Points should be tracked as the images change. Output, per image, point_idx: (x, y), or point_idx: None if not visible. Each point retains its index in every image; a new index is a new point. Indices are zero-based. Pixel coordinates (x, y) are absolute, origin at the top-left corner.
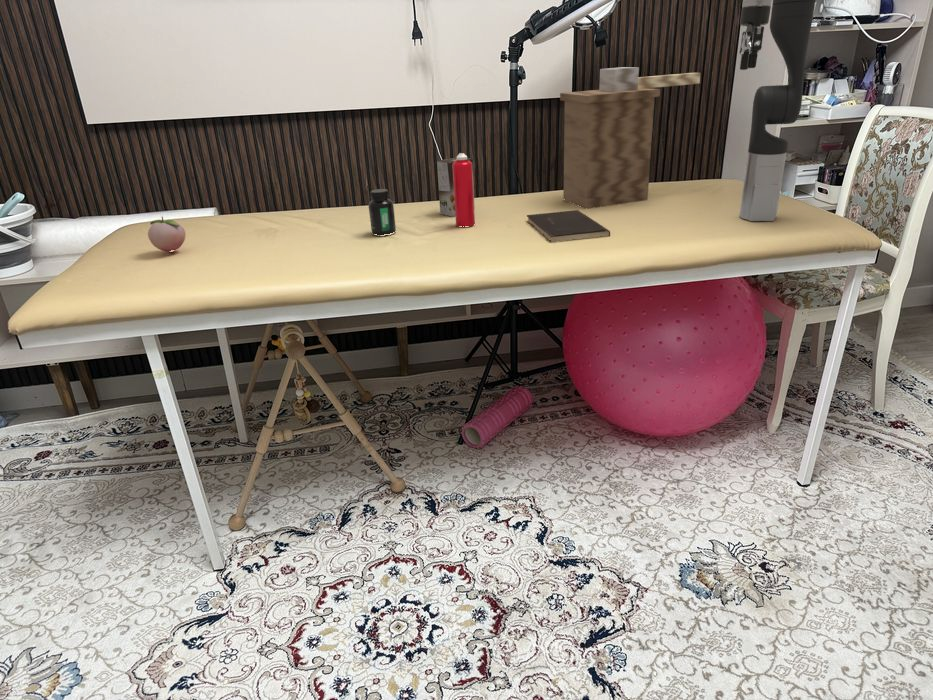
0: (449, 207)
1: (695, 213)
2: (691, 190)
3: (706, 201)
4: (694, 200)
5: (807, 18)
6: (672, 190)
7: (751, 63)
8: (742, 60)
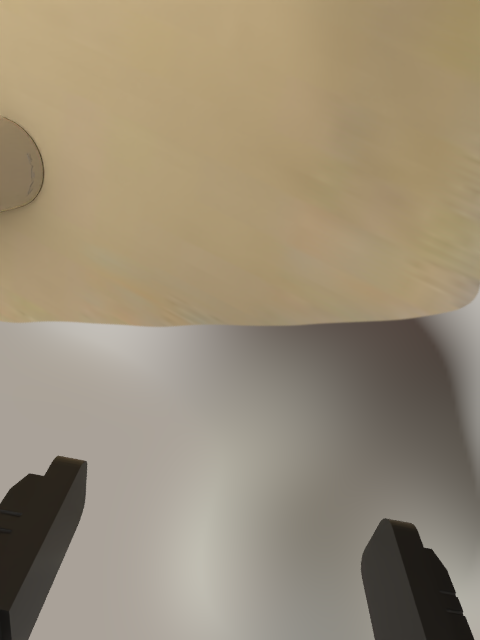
0: None
1: (56, 3)
2: (366, 123)
3: (198, 106)
4: (221, 72)
5: None
6: (396, 51)
7: (10, 500)
8: (413, 621)
